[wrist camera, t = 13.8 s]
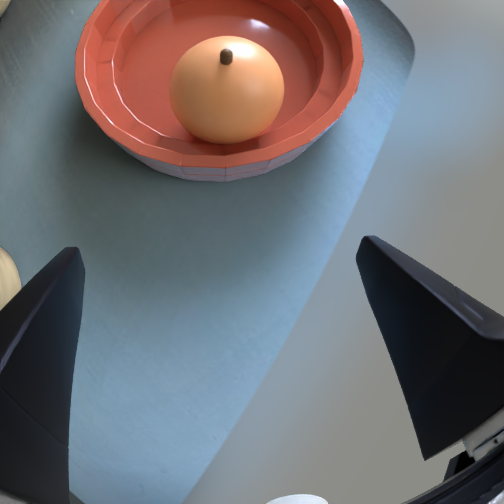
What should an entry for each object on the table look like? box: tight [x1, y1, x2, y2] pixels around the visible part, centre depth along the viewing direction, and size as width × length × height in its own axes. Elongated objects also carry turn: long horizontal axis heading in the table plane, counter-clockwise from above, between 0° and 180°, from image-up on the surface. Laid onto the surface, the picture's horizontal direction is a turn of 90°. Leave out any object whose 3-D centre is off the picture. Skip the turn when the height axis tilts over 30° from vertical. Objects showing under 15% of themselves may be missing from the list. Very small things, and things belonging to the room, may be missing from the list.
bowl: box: [75, 0, 364, 182], centre depth 18 cm, size 18×18×5 cm
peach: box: [169, 36, 284, 144], centre depth 16 cm, size 6×6×8 cm
